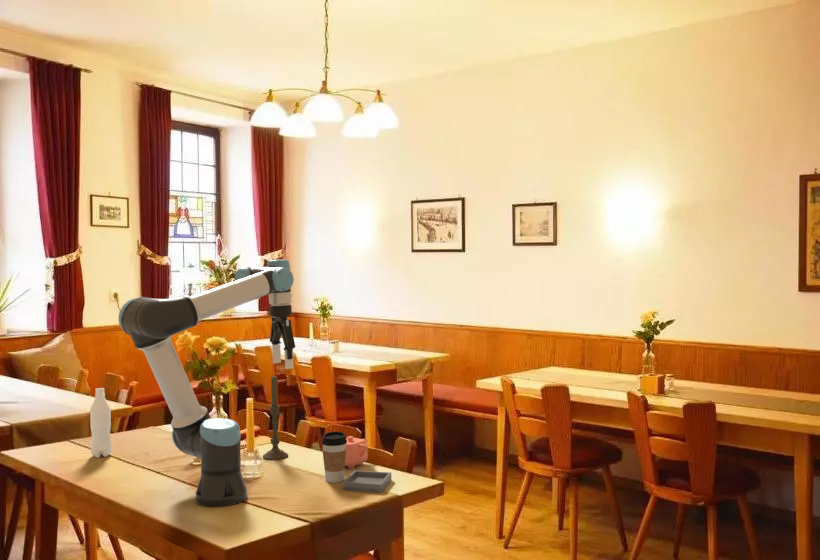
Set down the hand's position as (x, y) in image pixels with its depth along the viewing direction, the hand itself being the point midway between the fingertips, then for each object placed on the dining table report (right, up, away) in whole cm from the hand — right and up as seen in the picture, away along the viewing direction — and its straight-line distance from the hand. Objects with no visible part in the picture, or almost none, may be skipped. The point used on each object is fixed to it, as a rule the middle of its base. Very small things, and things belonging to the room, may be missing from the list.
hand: (283, 365), depth 253 cm
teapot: (+23, -35, +3) cm, 42 cm away
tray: (+30, -36, -19) cm, 51 cm away
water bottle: (-70, -36, +18) cm, 81 cm away
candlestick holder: (-5, -35, +15) cm, 38 cm away
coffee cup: (+19, -36, -13) cm, 43 cm away
